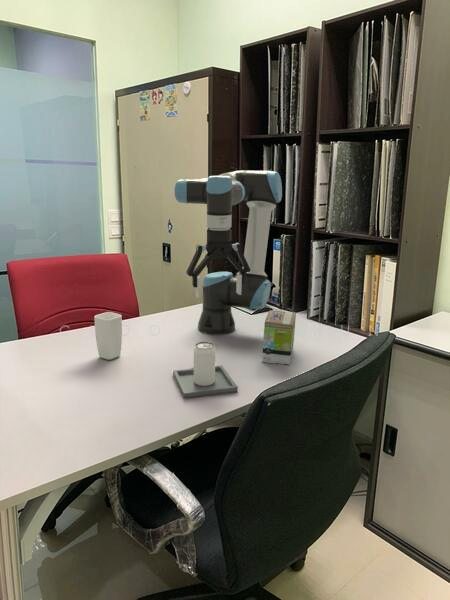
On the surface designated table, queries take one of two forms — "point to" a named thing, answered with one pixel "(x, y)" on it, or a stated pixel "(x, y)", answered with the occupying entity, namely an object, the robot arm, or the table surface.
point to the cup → (108, 334)
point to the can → (204, 364)
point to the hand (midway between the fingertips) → (218, 295)
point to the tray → (193, 390)
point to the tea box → (278, 337)
